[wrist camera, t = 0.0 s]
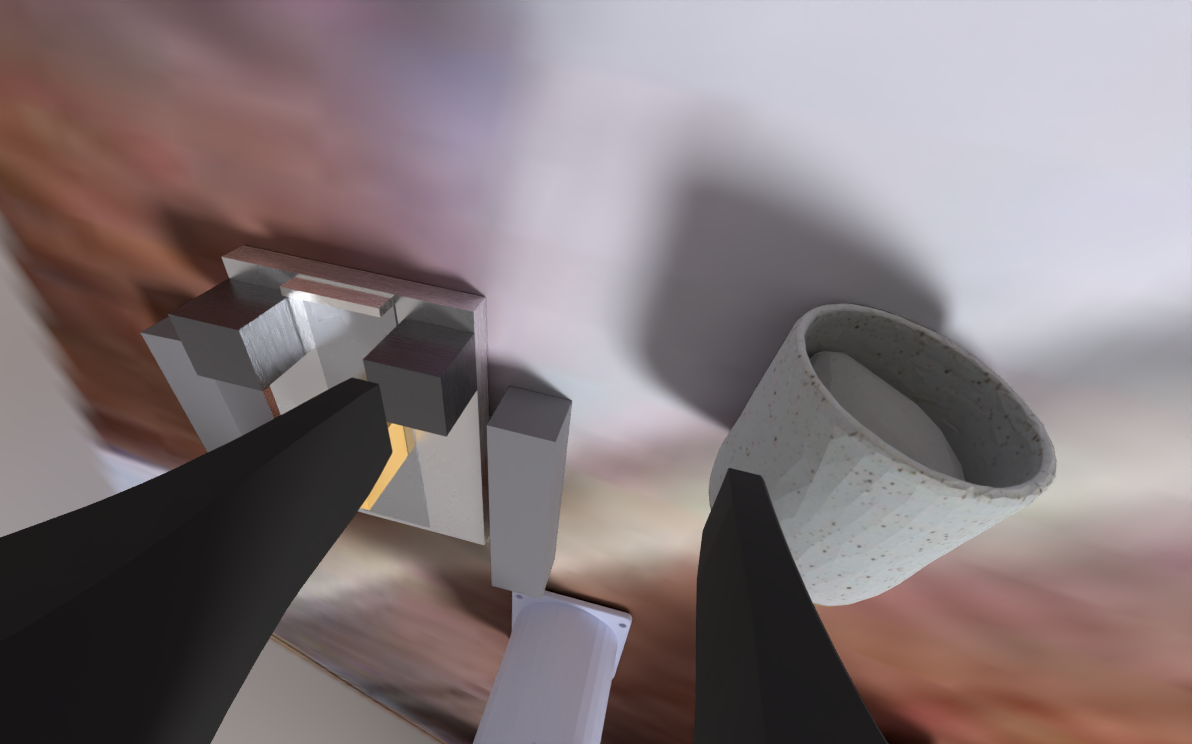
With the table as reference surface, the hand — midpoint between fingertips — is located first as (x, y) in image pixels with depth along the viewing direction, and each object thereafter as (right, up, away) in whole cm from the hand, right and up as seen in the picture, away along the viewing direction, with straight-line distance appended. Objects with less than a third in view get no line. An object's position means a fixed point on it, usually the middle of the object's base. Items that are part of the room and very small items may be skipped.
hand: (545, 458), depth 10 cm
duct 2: (-2, -4, +17) cm, 18 cm away
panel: (-10, 0, +16) cm, 19 cm away
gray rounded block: (+12, +1, +10) cm, 15 cm away
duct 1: (-19, 0, +19) cm, 27 cm away
